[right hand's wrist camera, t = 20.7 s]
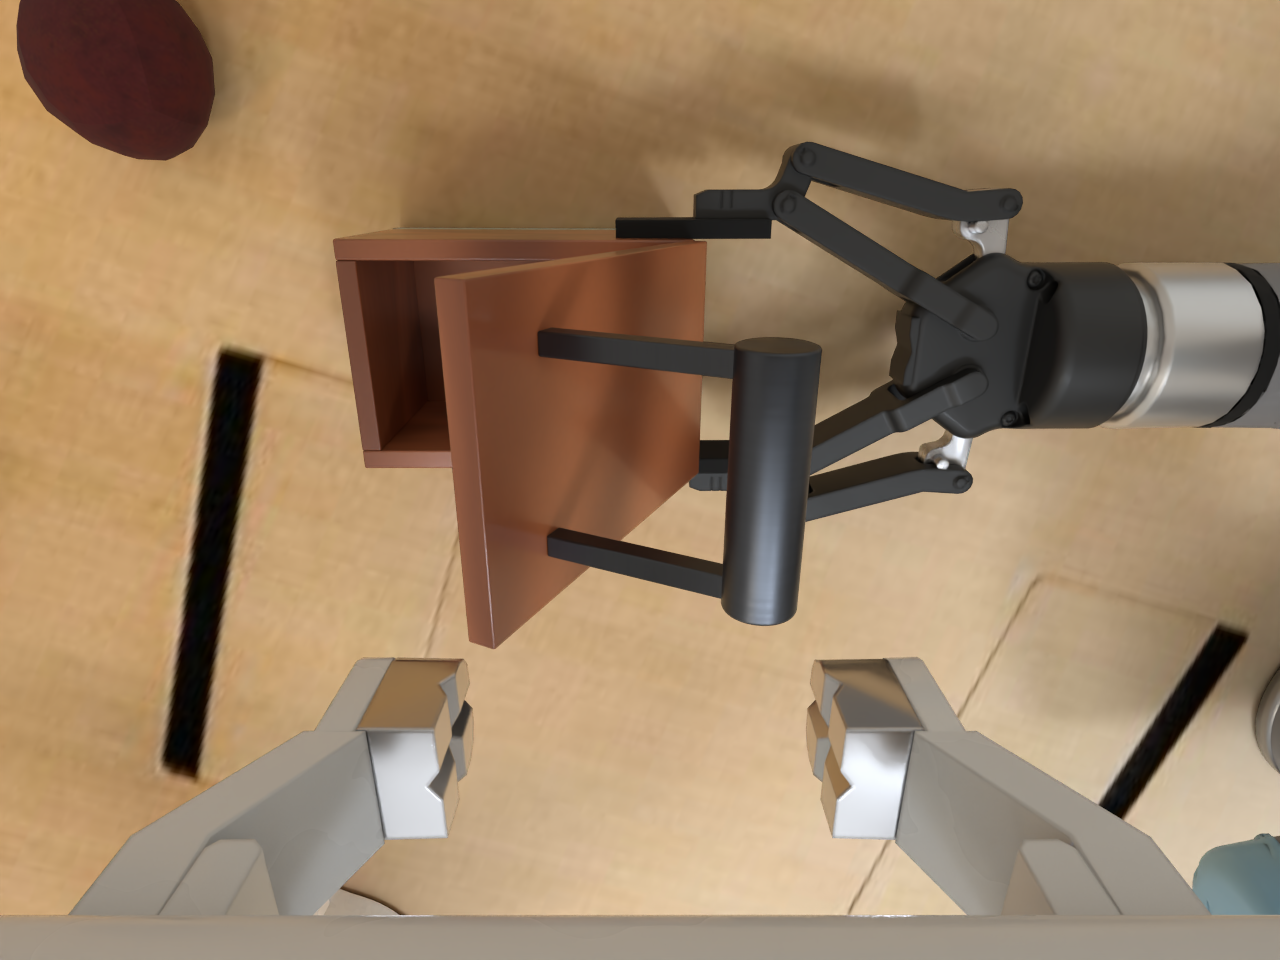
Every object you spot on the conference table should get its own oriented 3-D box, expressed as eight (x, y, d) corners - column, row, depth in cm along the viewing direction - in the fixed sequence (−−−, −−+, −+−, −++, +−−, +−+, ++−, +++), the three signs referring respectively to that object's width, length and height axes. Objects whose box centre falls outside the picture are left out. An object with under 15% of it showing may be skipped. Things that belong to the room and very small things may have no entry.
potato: (208, -32, 34) (104, -85, 27) (269, 148, 37) (188, 139, 30) (60, 1, 34) (-76, -43, 28) (132, 177, 37) (23, 174, 31)
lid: (468, 642, 20) (754, 733, 17) (432, 277, 17) (789, 300, 13) (680, 470, 33) (869, 502, 30) (686, 240, 29) (902, 247, 26)
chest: (418, 411, 42) (364, 468, 33) (397, 227, 38) (331, 238, 29) (676, 410, 42) (689, 467, 33) (680, 228, 38) (696, 239, 30)
